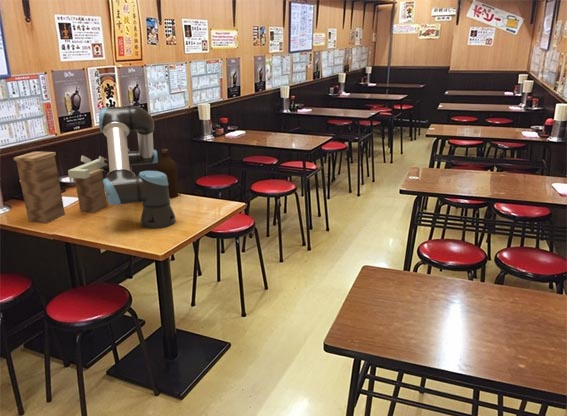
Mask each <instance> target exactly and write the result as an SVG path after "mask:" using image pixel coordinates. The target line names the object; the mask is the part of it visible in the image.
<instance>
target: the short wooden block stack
mask: <svg viewBox="0 0 567 416" xmlns="http://www.w3.org/2000/svg"><path fill="white" fill-rule="evenodd" d="M103 172H104V170H103V169H96V170H94V171H91V172H89V174H90V177H88V178H86V179H84V178H74V181H75V187H76V188H75V189H76V194H77V200H78V204H79V211H80V212H81V213H98V212H99V211H101V210H103V209H104V208H106V207H108V205H107V204H108V202H107V196H106V192H105V188H104V184H103V179H104V177H103Z"/></svg>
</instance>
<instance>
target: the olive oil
mask: <svg viewBox="0 0 567 416" xmlns="http://www.w3.org/2000/svg"><path fill="white" fill-rule="evenodd" d="M155 171H158V172H162V173H164V174H165V175H166V176H167V180H168V190H169V199H175V198H176V197H178V196H179V188H178V187H179V186H178V167H177V164H176V162H175V161H174V160H173V159H172V158H171V157H170V156H169V149H168V148H163V149H161V158H160V159H158V162H157V163H156V167H155Z"/></svg>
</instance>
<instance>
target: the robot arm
mask: <svg viewBox="0 0 567 416" xmlns="http://www.w3.org/2000/svg"><path fill="white" fill-rule="evenodd" d="M98 114H99V115H98V121H99V122H98V125H99V126H98V127H99V132H101V133H103V135H104V136H105V137H106V141H107V155H108V159H107V158H106V157H105V158H104V156H101V155H99V156H98V159H99V161H98V162H100V163H102V164H104V165H106V166H103V167H101V168H99V169H103V172H105V173H106V176H105V178H103V184H104V189H105V196H106V201H107V204H109V205H110V206H115V205H116V206H117V205H118V206H121V205H129V204H137V203H142V211H141V216H140V225H141V226H142V227H143V228H147V229H161V228H166V227H169V226H172V225H173V224H175V223H176V215H175V213H174V211H173V208H172V206H171V201H170V199H171V198H169V190H168V180H167V176H166V175H165V174H164V173H162V172H158V171H156V170H143V171H140V172H139V173H138V175H136V174H135V173H134V171H133V169H132V168H133V167H132V166H137V165H149V164H150V165H152V164H157V163H158V162H159V158H158V151H157V150H156V149H154V137H153V136H154V135H153V133H154V131H155V121H154V119H153V117H152V116H151V115H150V113H149V112H148V111H147V110H145V109H143V108H142V107H140V106H139V107H138V106H135V105H134V106H133V105H131V106H108V107H102V108H100V110H99V112H98ZM134 131H135V132H136V133H137V141H138V142H137V143H138V150H136V151H135V150H134V151H133V150H132V151H130V148H128V138H127V137H128V136H129V134H130V132H134ZM91 161H93V160H92V159H91V158H89V157H87V156H85V155H81V157H80V162H83V164H86V163H89V162H91Z"/></svg>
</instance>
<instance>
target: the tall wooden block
mask: <svg viewBox="0 0 567 416" xmlns="http://www.w3.org/2000/svg"><path fill="white" fill-rule="evenodd" d="M56 155H57V153H56V151H31V152H28V153H25V154H22V155H18V156H15V157H13V161H15V162H16V166H17V170H18V171H17V172H18V178H19V181H20V187H21V191H22V196H23V200H24V205H25V210H26V214H27V219H28V222H29V223H37V224H38V223H42V224H49V223H51V222H53V221H55V220H57V219H58V218H60V217H62V216H65V215H66V214H65V213H66V212H65V207H64V201H63V196H62V190H61V185H60V184H61V183H60V179H59V175H58V174H59V173H58V168H57V162H56V157H55V156H56Z"/></svg>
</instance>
